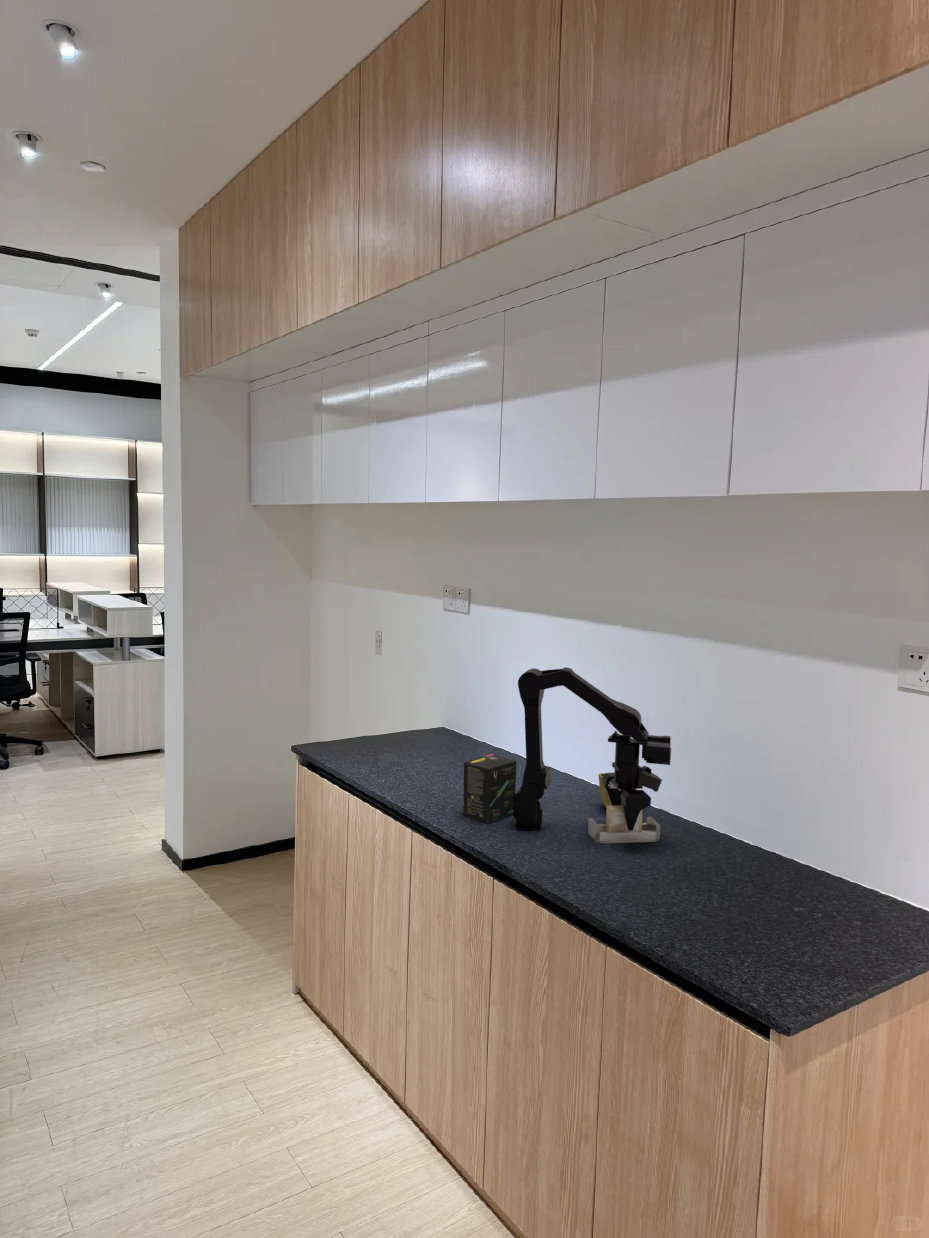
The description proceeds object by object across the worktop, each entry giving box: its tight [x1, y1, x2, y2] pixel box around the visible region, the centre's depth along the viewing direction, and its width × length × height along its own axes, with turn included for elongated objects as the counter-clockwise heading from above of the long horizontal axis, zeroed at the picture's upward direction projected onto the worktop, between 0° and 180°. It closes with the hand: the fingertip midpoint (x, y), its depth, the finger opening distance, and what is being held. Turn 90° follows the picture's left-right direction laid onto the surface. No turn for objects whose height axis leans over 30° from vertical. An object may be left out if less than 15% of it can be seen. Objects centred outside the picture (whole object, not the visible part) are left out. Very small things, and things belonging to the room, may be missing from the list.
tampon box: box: [462, 753, 517, 825], centre depth 216 cm, size 11×9×15 cm
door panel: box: [605, 805, 643, 832], centre depth 202 cm, size 8×3×7 cm, turn 98°
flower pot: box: [598, 772, 638, 809], centre depth 223 cm, size 9×9×9 cm
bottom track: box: [587, 816, 661, 844], centre depth 202 cm, size 16×6×4 cm, turn 98°
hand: (624, 823), depth 202 cm, fingers open, 9 cm apart
